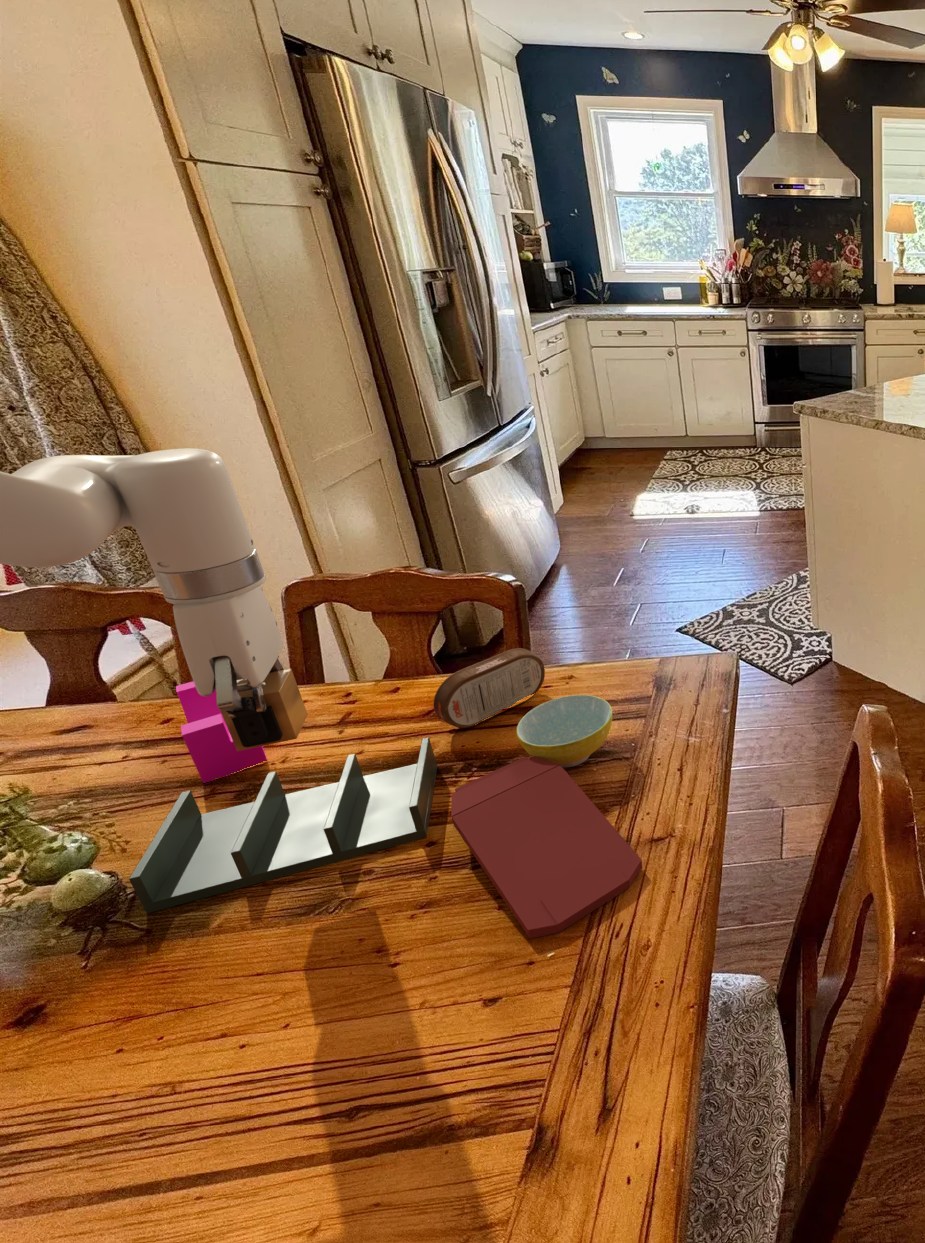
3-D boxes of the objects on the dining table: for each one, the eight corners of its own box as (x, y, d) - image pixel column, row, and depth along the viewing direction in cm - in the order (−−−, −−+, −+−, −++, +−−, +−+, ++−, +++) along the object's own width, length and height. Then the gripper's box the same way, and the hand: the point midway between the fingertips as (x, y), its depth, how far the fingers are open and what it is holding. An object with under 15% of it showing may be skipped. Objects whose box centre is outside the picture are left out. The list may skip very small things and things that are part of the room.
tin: (540, 685, 114) (531, 637, 111) (552, 691, 113) (543, 643, 110) (439, 733, 103) (425, 682, 99) (451, 741, 101) (437, 689, 98)
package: (237, 751, 77) (216, 703, 74) (251, 725, 81) (232, 679, 78) (296, 738, 79) (279, 691, 76) (307, 714, 83) (291, 668, 80)
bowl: (587, 790, 92) (579, 750, 90) (505, 779, 94) (495, 739, 92) (634, 736, 103) (628, 699, 100) (559, 727, 105) (552, 690, 102)
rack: (146, 914, 74) (128, 879, 73) (196, 824, 86) (181, 792, 84) (426, 837, 85) (417, 805, 83) (437, 766, 96) (429, 736, 94)
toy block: (267, 762, 96) (249, 714, 93) (203, 784, 92) (181, 735, 89) (254, 714, 106) (236, 669, 103) (195, 732, 102) (175, 686, 99)
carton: (650, 896, 82) (545, 771, 95) (648, 867, 80) (541, 742, 93) (539, 969, 73) (441, 820, 87) (534, 939, 71) (434, 790, 84)
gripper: (194, 551, 78) (251, 695, 85) (122, 618, 64) (197, 785, 71) (282, 540, 81) (330, 680, 88) (233, 602, 67) (294, 763, 74)
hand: (270, 726), depth 79 cm, fingers closed on package, 5 cm apart
